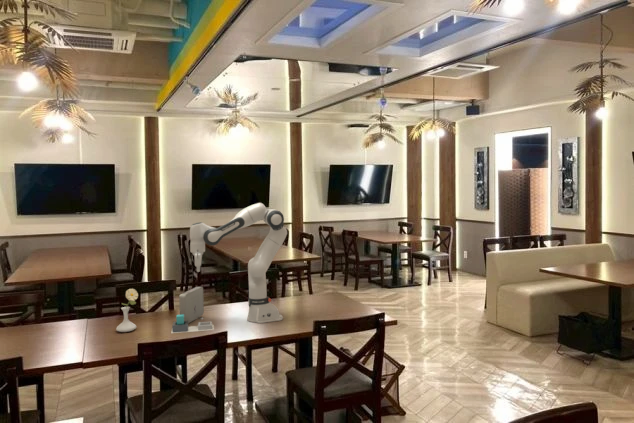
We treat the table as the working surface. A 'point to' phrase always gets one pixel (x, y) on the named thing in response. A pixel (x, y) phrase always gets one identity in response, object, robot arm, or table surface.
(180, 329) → the port
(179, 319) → the plug
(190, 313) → the network device
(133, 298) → the flower in vase
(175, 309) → the table surface
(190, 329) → the board
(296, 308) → the table surface
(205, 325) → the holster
